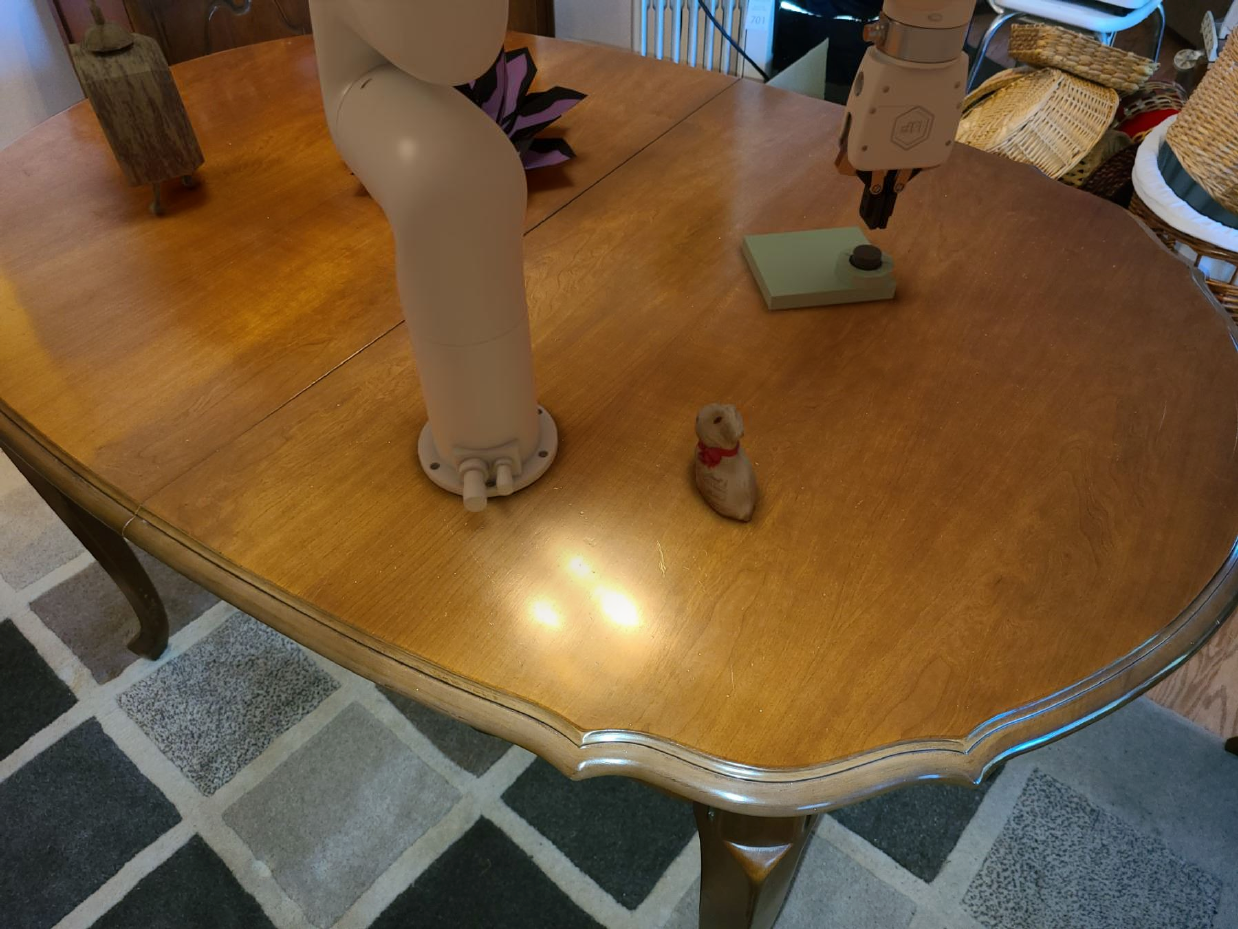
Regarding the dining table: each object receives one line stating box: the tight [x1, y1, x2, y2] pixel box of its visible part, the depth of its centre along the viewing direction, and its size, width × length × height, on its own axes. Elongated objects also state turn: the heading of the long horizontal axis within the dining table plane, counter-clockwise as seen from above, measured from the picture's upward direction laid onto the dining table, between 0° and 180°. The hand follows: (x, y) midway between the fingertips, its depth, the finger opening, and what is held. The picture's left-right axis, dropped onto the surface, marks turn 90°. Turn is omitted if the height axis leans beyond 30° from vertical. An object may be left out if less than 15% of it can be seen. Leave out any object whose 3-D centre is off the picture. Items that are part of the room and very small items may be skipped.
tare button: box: [851, 244, 883, 271], centre depth 91 cm, size 3×3×2 cm
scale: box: [741, 225, 898, 311], centre depth 94 cm, size 12×14×4 cm
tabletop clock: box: [68, 0, 206, 216], centre depth 99 cm, size 14×9×25 cm, turn 30°
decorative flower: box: [349, 42, 589, 176], centre depth 108 cm, size 32×32×15 cm
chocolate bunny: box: [694, 402, 758, 522], centre depth 70 cm, size 6×8×10 cm
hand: (872, 222), depth 87 cm, fingers closed
